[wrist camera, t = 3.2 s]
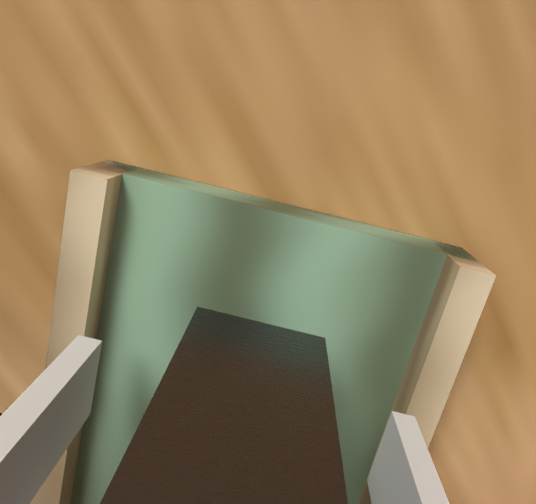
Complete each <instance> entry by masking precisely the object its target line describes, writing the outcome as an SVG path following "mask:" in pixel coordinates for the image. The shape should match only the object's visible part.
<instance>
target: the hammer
mask: <svg viewBox="0 0 536 504" xmlns="http://www.w3.org/2000/svg"><path fill="white" fill-rule="evenodd" d="M100 504H348V500H347V493H346V486H345V478H344V471H343V464H342V456H341V449H340V442H339V435H338V427H337V420H336V413H335V405H334V398H333V391H332V383H331V376H330V369H329V362H328V354H327V347H326V340H325V338H324V337H320V336H316V335H312V334H308V333H304V332H300V331H295V330H291V329H287V328H283V327H279V326H275V325H271V324H267V323H263V322H259V321H255V320H250V319H246V318H242V317H238V316H234V315H230V314H226V313H222V312H218V311H214V310H209V309H205V308H201V307H197V308H196V310H195V312H194V314H193V316H192V318H191V320H190V322H189V324H188V327H187V329H186V331H185V333H184V335H183V337H182V339H181V341H180V343H179V345H178V347H177V349H176V351H175V353H174V355H173V357H172V359H171V361H170V363H169V365H168V367H167V369H166V371H165V373H164V375H163V377H162V379H161V381H160V383H159V385H158V387H157V389H156V391H155V393H154V395H153V397H152V399H151V401H150V403H149V405H148V407H147V409H146V411H145V413H144V415H143V417H142V419H141V421H140V423H139V425H138V427H137V430H136V432H135V434H134V436H133V438H132V440H131V442H130V444H129V446H128V448H127V450H126V452H125V454H124V456H123V458H122V460H121V462H120V464H119V466H118V468H117V470H116V472H115V474H114V476H113V478H112V480H111V482H110V484H109V486H108V488H107V490H106V492H105V494H104V496H103V498H102V500H101V502H100Z"/></svg>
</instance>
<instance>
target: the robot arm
mask: <svg viewBox="0 0 536 504" xmlns="http://www.w3.org/2000/svg"><path fill="white" fill-rule="evenodd" d="M101 345H102V341H101V340H97V339H93V338H89V337H85V336H81V335H78V336H77V337H76V338H75V339H74V340H73V341H72V342H71V343H70V344H69V345H68V347H67V348H66V349H65V350H64V351H63V352H62V353H61V354H60V355H59V356H58V357H57V358H56V359H55V360H54V361H53V362H52V363H51V364H50V365H49V366H48V367H47V368H46V369H45V370H44V371H43V372H42V373H41V375H40V376H39V377H38V378H37V379H36V380H35V381H34V382H33V383H32V384H31V385H30V386H29V387H28V388H27V389H26V390H25V391H24V392H23V393H22V394H21V395H20V396H19V397H18V398H17V399H16V400H15V402H14V403H13V404H12V405H11V406H10V407H9V408H8V409H7V410H6V411H5V412H4V413H3V414H2V413H0V504H30V503H31V501H32V500H33V498H34V497H35V495H36V494H37V492H38V491H39V489H40V488H41V486H42V485H43V483H44V482H45V480H46V479H47V477H48V476H49V474H50V473H51V471H52V470H53V468H54V467H55V465H56V464H57V463H58V461H59V460H60V458H61V457H62V455H63V454H64V452H65V451H66V449H67V448H68V446H69V445H70V443H71V442H72V440H73V439H74V437H75V436H76V434H77V433H78V431H79V430H80V428H81V427H82V425H83V424H84V422H85V421H86V419H87V418H88V417H89V415H90V413H91V407H92V401H93V394H94V388H95V382H96V376H97V370H98V363H99V357H100V351H101ZM367 483H368V488H369V493H370V498H371V503H372V504H449V502H448V499H447V496H446V494H445V491H444V489H443V486H442V484H441V481H440V479H439V476H438V474H437V471H436V469H435V466H434V464H433V461H432V458H431V456H430V453H429V451H428V448H427V446H426V443H425V441H424V438H423V436H422V433H421V431H420V428H419V426H418V423H417V420H416V418H415V416H411V415H407V414H402V413H398V412H394V411H392V412H391V415H390V418H389V420H388V423H387V426H386V429H385V431H384V434H383V437H382V440H381V443H380V445H379V448H378V451H377V454H376V456H375V459H374V462H373V465H372V467H371V470H370V473H369V476H368V479H367Z"/></svg>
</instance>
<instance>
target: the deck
mask: <svg viewBox="0 0 536 504" xmlns="http://www.w3.org/2000/svg"><path fill="white" fill-rule="evenodd" d="M495 277H496V275H495V274H493V273H492V272H491V271H490V270H489V269H487V268H486V267H485V266H484V265H482V264H481V263H480V262H479V261H477V260H476V259H475V258H474V257H473V256H471V255H470V254H469V253H468V252H466V251H465V250H464V249H463V248H461V247H457V246H453V245H449V244H445V243H441V242H437V241H433V240H429V239H425V238H421V237H417V236H413V235H409V234H405V233H401V232H397V231H393V230H389V229H385V228H380V227H376V226H372V225H368V224H364V223H360V222H356V221H352V220H348V219H344V218H340V217H336V216H332V215H328V214H324V213H320V212H316V211H312V210H308V209H304V208H300V207H296V206H292V205H288V204H284V203H280V202H276V201H272V200H268V199H264V198H260V197H256V196H252V195H248V194H244V193H240V192H236V191H232V190H228V189H224V188H220V187H216V186H212V185H208V184H203V183H199V182H195V181H191V180H187V179H183V178H179V177H175V176H171V175H167V174H163V173H159V172H155V171H151V170H147V169H143V168H139V167H135V166H131V165H127V164H123V163H119V162H115V161H111V160H107V161H103V162H100V163H96V164H92V165H88V166H85V167H81V168H77V169H73V170H70V178H69V186H68V194H67V202H66V210H65V217H64V225H63V233H62V241H61V249H60V257H59V265H58V273H57V280H56V288H55V296H54V304H53V312H52V320H51V328H50V336H49V343H48V351H47V359H46V367H45V369H46V368H47V367H48V366H49V365H50V364H51V363H52V362H53V361H54V360H55V359H56V358H57V357H58V356H59V355H60V354H61V353H62V352H63V351H64V350H65V349H66V348H67V347H68V345H69V344H70V343H71V342H72V341H73V340H74V339H75V338H76V337H77V336H78V335H81V336H85V337H89V338H93V339H97V340H101V341H102V345H101V351H100V357H99V363H98V370H97V376H96V382H95V388H94V394H93V401H92V407H91V413H90V415H89V417H88V418H87V419H86V421H85V422H84V424H83V425H82V427H81V428H80V430H79V431H78V433H77V434H76V436H75V437H74V439H73V440H72V442H71V443H70V445H69V446H68V448H67V449H66V451H65V452H64V454H63V455H62V457H61V458H60V460H59V461H58V463H57V464H56V465H55V467H54V468H53V470H52V471H51V473H50V474H49V476H48V477H47V479H46V480H45V482H44V483H43V485H42V486H41V488H40V489H39V491H38V492H37V494H36V495H35V497H34V498H33V500H32V501H31V503H30V504H100V502H101V500H102V498H103V496H104V494H105V492H106V490H107V488H108V486H109V484H110V482H111V480H112V478H113V476H114V474H115V472H116V470H117V468H118V466H119V464H120V462H121V460H122V458H123V456H124V454H125V452H126V450H127V448H128V446H129V444H130V442H131V440H132V438H133V436H134V434H135V432H136V430H137V427H138V425H139V423H140V421H141V419H142V417H143V415H144V413H145V411H146V409H147V407H148V405H149V403H150V401H151V399H152V397H153V395H154V393H155V391H156V389H157V387H158V385H159V383H160V381H161V379H162V377H163V375H164V373H165V371H166V369H167V367H168V365H169V363H170V361H171V359H172V357H173V355H174V353H175V351H176V349H177V347H178V345H179V343H180V341H181V339H182V337H183V335H184V333H185V331H186V329H187V327H188V324H189V322H190V320H191V318H192V316H193V314H194V312H195V310H196V308H197V307H201V308H205V309H209V310H214V311H218V312H222V313H226V314H230V315H234V316H238V317H242V318H246V319H250V320H255V321H259V322H263V323H267V324H271V325H275V326H279V327H283V328H287V329H291V330H295V331H300V332H304V333H308V334H312V335H316V336H320V337H324V338H325V340H326V347H327V354H328V362H329V369H330V376H331V383H332V391H333V398H334V405H335V413H336V420H337V427H338V435H339V442H340V449H341V456H342V464H343V471H344V478H345V486H346V493H347V500H348V504H372V503H371V498H370V493H369V488H368V483H367V479H368V476H369V473H370V470H371V467H372V465H373V462H374V459H375V456H376V454H377V451H378V448H379V445H380V443H381V440H382V437H383V434H384V431H385V429H386V426H387V423H388V420H389V418H390V415H391V412H392V411H394V412H398V413H402V414H407V415H411V416H415V418H416V420H417V423H418V426H419V428H420V431H421V433H422V436H423V438H424V441H425V443H426V446H427V448H428V447H429V445H430V442H431V440H432V437H433V435H434V432H435V429H436V427H437V424H438V422H439V419H440V417H441V414H442V412H443V409H444V407H445V404H446V402H447V399H448V396H449V394H450V391H451V389H452V386H453V384H454V381H455V379H456V376H457V374H458V371H459V369H460V366H461V364H462V361H463V358H464V356H465V353H466V351H467V348H468V346H469V343H470V341H471V338H472V336H473V333H474V331H475V328H476V326H477V323H478V320H479V318H480V315H481V313H482V310H483V308H484V305H485V303H486V300H487V298H488V295H489V293H490V290H491V288H492V285H493V282H494V280H495Z"/></svg>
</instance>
